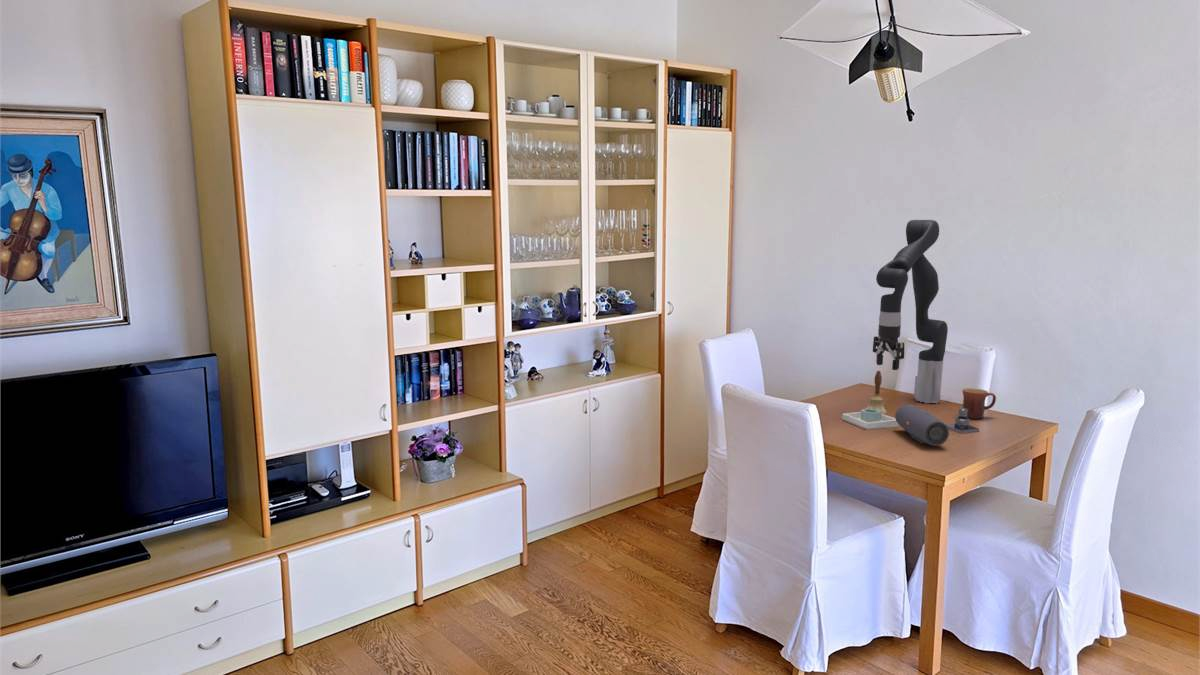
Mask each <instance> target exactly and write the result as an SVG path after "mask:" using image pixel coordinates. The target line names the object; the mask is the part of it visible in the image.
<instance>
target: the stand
mask: <svg viewBox="0 0 1200 675" xmlns="http://www.w3.org/2000/svg"><path fill="white" fill-rule="evenodd" d="M967 411H968V409H966V408H963V407H959V408H958V416H956V417H954V423H951V424H950V423H947V424H945V425H946V426H947V427H948V430H949V431H953V432H956V433H958V434H968V433H970V434H971V433H978V432H980V428H978V427H975V426H972V425H970V423H971V422H970V421H971V419H969V418H967Z"/></svg>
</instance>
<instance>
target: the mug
mask: <svg viewBox="0 0 1200 675" xmlns="http://www.w3.org/2000/svg"><path fill="white" fill-rule="evenodd" d="M962 395H963V400H962V408H966V409H968V411H967V418H973V419H972V420H980V419H979V418H981V419H982V418H984V416H985V410H989V409H991V408H993V407H994V405H995V404H996V402H997V401H996V400H997V397H996V394H995V393H992V392H988V390H985V389H981V388H973V387H965V388H962ZM989 396H992V400H991V403H990V404H989V405H986V406H985V402H986V398H987V397H989Z"/></svg>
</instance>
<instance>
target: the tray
mask: <svg viewBox="0 0 1200 675" xmlns="http://www.w3.org/2000/svg"><path fill="white" fill-rule="evenodd" d="M841 416H842V417H841V418H842V419H841V420H842V421H843V422H846V423H849V424H850V425H853V426H856V427H858V428H861V429H864V430H866V431H870V430H881V429H890V428H896V427H897V428H899V427H900V425H899V424H898V423H897V421H896V418H895V417H892V416H890V415H887V414H882V416H881V419H880V421H878V422H865V421H863V420H861V411H857V412H856V411H855V412H845V413H842V415H841Z"/></svg>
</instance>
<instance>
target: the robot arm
mask: <svg viewBox="0 0 1200 675" xmlns="http://www.w3.org/2000/svg"><path fill="white" fill-rule="evenodd" d="M939 236H940V226H939V223H938V222H937V221H936V220H934V219H911V220H909V221H908V222H907V223H906V227H905V237H906V244H907V245H906V246H904V247H903V248H901V249H900V250H899V251H898V252H897V253H896V255H895V256H894V257H893V259H892V260H890V261H889V262H887V263H886V264H885V265H883V266H882V267H880V269H879V270H878V271H877V274H876V278H875V279H876V283H877V285H878V286H879V287H881V288H888V289H894V290H893V292H892V293H888V294H884V295H882V296H881V297H880V305H879V306H880V309H879V314H878V315H879V316H878V330H877V331H878V332H877V333H878V335H877V336H873V341H872V342H873V343H872V353H875V356H876V360H875V362H876V366H883V364H884V353H885V352H887V353H889V355H891V357H892V364H891V365H892V366H891V370H892V371H898V370H899V368H900V360H903V359H905V342H899V338H900V336H901V329H902V328H901V325H902V312H901V310H902V299H903V296H904V293H905V289H906V287H907V284H908V281H909V275H908V273H909V272H910V271H911V276H912V286H913V287H912V288H913V294H914V301H915V302H914V304H915V305H914V306H915V333H916V338H917V339H918V340H919V341H920V342H923V343H925V342H926V343H931V344H932V347H931V348H928V349H925V350H920V351H919V353H918V362H917V363H918V364H917V375H916V376H915V378H914V381H915V382H914V389H913V390H914V391H913V399H914V398H915V399H916V400H917V401H916V400H915V399H914V400H915V401H916V402H918V401H920V402H919V403H921V402H924V403H923V404H929V403H934V402H939V401H941V392H942V378H943V371H944V370H943V367H944V359H945V358H944V357H945V354H946V347H947V346H946V345H947V339H948V324H947V322H946V321H944V320H939V319H934V318H933V319H932V318H929V308H930V306H931V304H932V302H934V300H935V298H937V295H938V292H939V288H940V285H939V277H938V272H937V270H936V268H935V267H934V266H933V265H932V263H931V262H930V261H929V259H928V258H927V257H926V255H925V253H926V251H928V250H929V249H930V248H931V247H932V246H933V245H934V244H935V243H937V241H938V238H939ZM939 403H940V402H939Z"/></svg>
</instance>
